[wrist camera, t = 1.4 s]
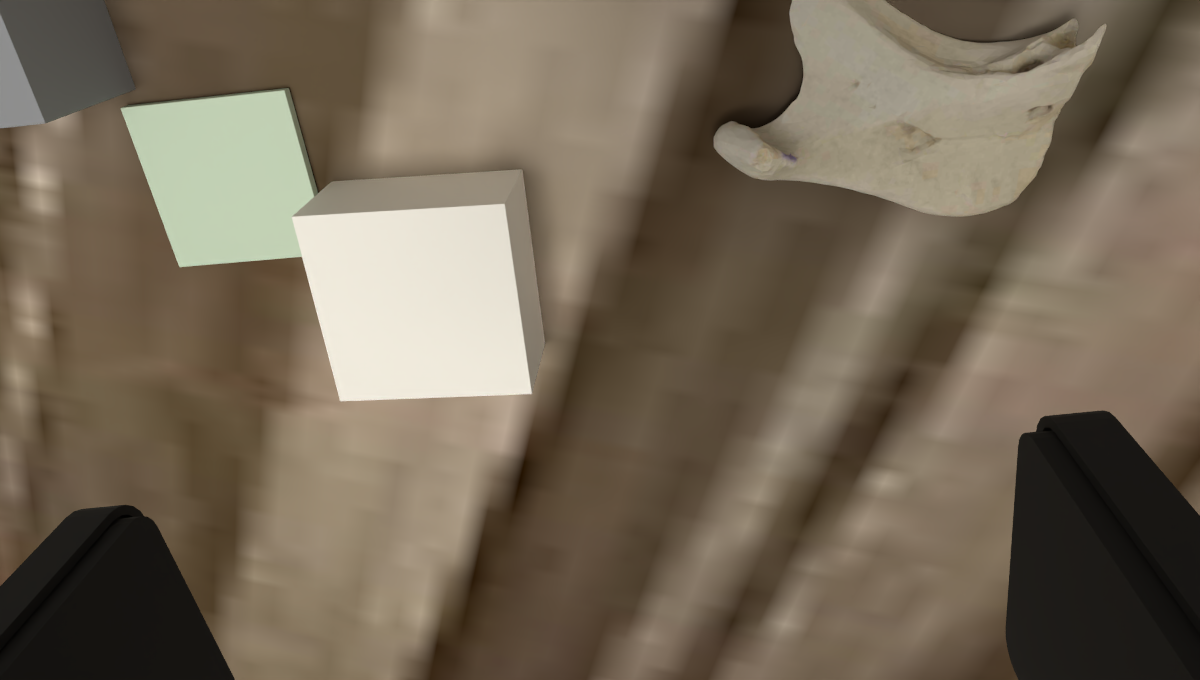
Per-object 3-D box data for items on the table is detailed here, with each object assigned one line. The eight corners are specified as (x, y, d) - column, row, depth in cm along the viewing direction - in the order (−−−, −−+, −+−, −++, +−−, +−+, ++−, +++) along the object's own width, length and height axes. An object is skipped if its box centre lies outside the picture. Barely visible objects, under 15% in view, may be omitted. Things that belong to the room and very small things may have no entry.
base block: (334, 179, 31) (291, 216, 28) (523, 167, 30) (504, 203, 27) (373, 348, 34) (340, 401, 31) (545, 341, 34) (531, 393, 30)
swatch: (127, 105, 30) (120, 108, 30) (288, 87, 29) (284, 90, 29) (184, 262, 33) (179, 266, 32) (333, 250, 32) (329, 254, 32)
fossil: (749, -43, 27) (758, -34, 24) (1086, 17, 27) (1138, 33, 24) (703, 167, 30) (706, 199, 27) (1004, 220, 30) (1041, 257, 27)
